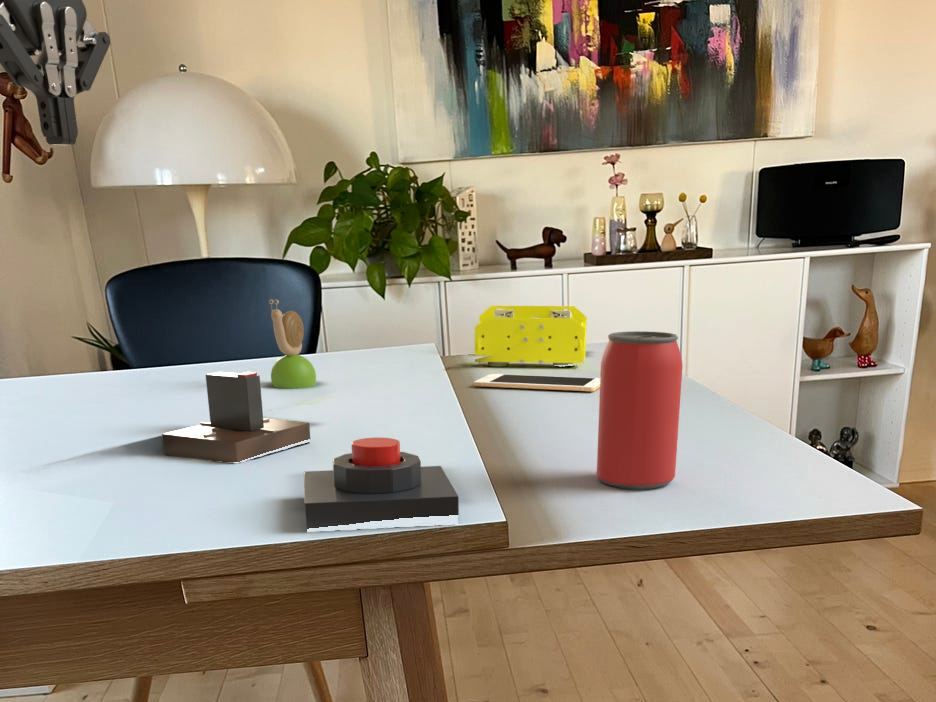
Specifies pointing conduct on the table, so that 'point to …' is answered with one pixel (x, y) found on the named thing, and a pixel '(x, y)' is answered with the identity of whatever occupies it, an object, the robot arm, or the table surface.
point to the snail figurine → (290, 352)
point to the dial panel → (233, 440)
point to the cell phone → (539, 382)
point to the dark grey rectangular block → (235, 400)
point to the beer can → (639, 409)
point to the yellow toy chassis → (531, 335)
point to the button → (375, 452)
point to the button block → (376, 492)
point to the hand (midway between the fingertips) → (61, 144)
